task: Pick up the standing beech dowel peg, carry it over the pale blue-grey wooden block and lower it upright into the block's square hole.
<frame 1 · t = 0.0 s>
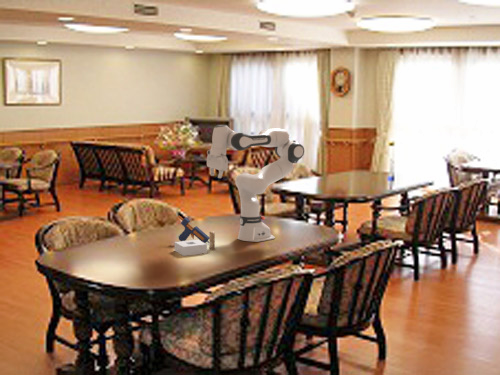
hand: (215, 176, 382), 39 cm above the table, fingers open, 8 cm apart
hole block: (190, 251, 366), on the table
peg: (211, 249, 372), on the table
glue gun: (194, 243, 387), on the table
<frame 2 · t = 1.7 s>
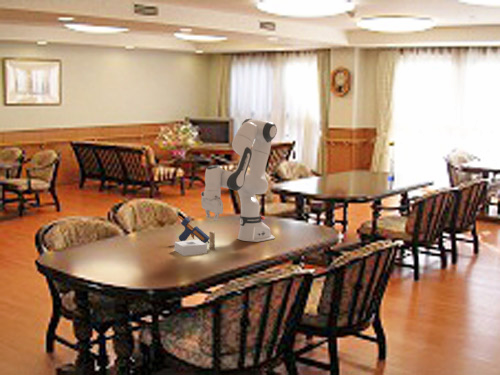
hand: (212, 219, 369), 17 cm above the table, fingers open, 8 cm apart
nothing on the table moved.
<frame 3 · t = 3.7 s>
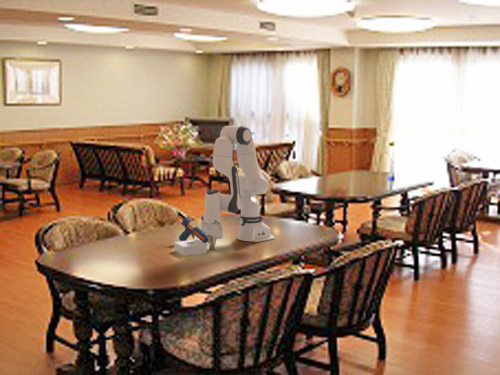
hand: (212, 243, 371), 4 cm above the table, fingers closed on peg, 3 cm apart
peg: (211, 249, 372), on the table, touching gripper
everything else where it was.
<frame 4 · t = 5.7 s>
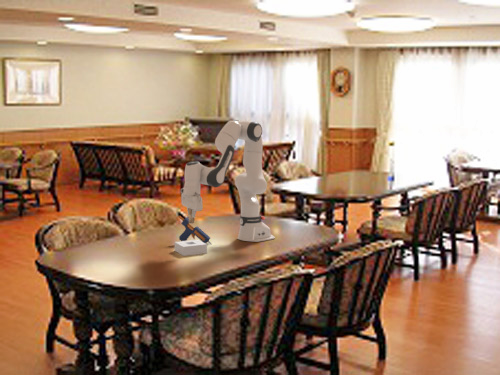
hand: (191, 216, 363), 20 cm above the table, fingers closed on peg, 3 cm apart
peg: (191, 222, 363), point 16 cm above the table, touching gripper
everything else where it was.
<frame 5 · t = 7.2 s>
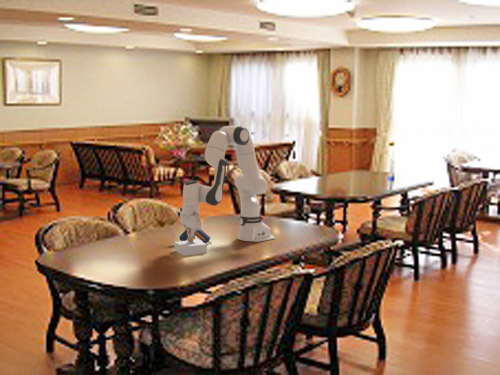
hand: (190, 235, 364), 9 cm above the table, fingers closed on peg, 3 cm apart
peg: (190, 241, 365), point 6 cm above the table, touching gripper
everything else where it was.
when the fingers open (6 cm above the table, at t = 8.1 s): peg drops 3 cm, resting in hole block.
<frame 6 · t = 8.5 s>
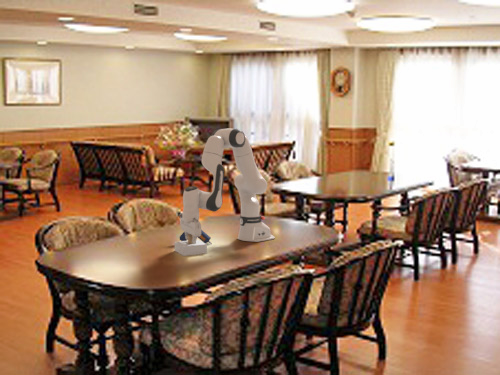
hand: (190, 241, 365), 6 cm above the table, fingers open, 7 cm apart
peg: (190, 251, 366), resting in hole block
everything else where it was.
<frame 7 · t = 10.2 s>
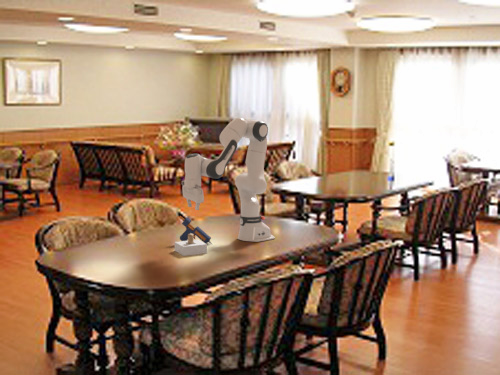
hand: (193, 208, 365), 24 cm above the table, fingers open, 8 cm apart
nothing on the table moved.
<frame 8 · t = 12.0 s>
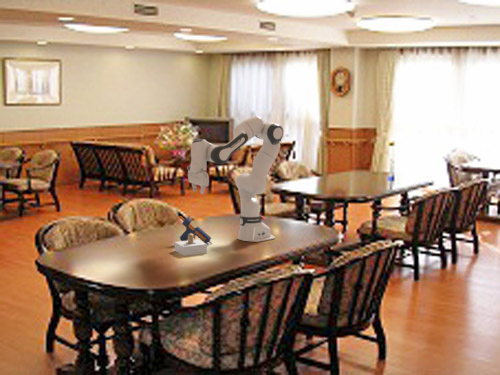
hand: (198, 192, 374), 31 cm above the table, fingers open, 8 cm apart
at the end: peg 0.1 cm off-centre on the hole block, point 0.0 cm above the hole block's base; peg tilted 0°; the gripper is holding nothing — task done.
